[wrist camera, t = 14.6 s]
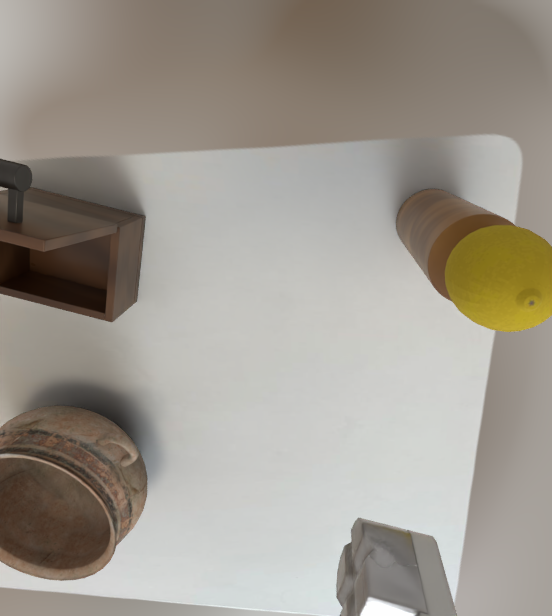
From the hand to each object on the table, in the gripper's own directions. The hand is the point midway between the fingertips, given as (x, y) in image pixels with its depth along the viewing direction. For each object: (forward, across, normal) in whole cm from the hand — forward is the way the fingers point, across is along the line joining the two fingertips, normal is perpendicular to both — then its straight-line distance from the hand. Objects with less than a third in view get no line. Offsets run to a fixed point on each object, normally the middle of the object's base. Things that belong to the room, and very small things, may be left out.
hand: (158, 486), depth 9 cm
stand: (+35, -13, -2) cm, 37 cm away
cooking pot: (+35, +18, +35) cm, 53 cm away
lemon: (+21, -13, -2) cm, 25 cm away
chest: (+35, +21, +9) cm, 42 cm away
